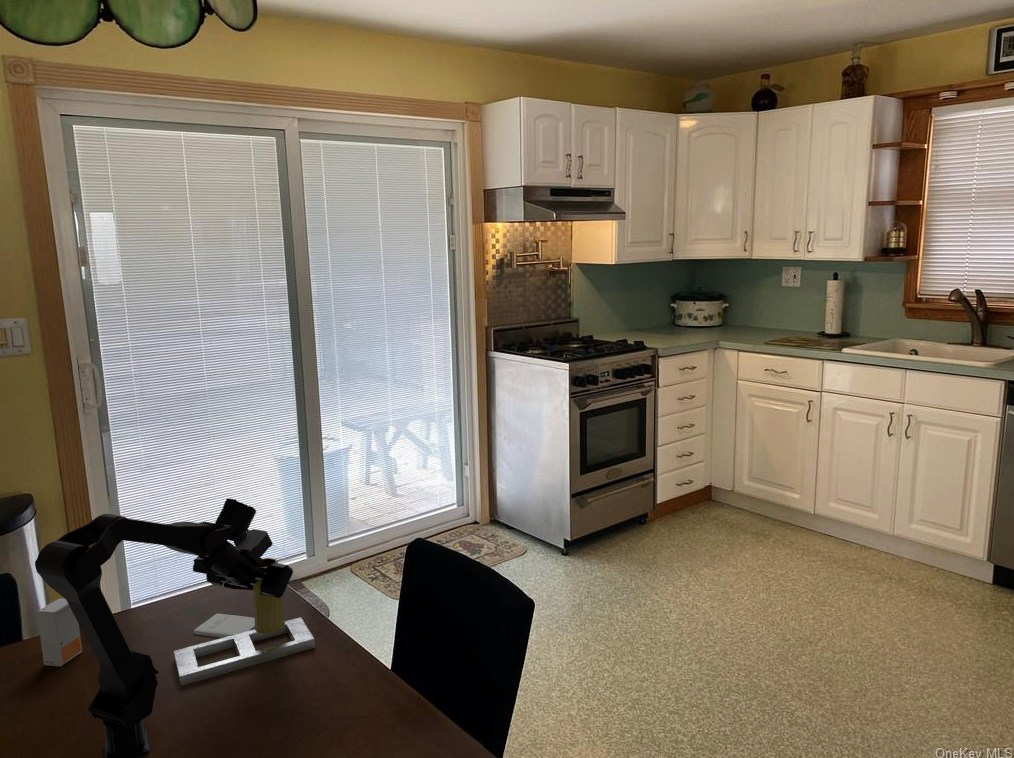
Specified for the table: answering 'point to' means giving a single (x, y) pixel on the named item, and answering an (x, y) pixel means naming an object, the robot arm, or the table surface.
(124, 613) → the table surface
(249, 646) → the grey flat frame
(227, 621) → the external hard drive
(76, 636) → the skincare box
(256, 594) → the vase
